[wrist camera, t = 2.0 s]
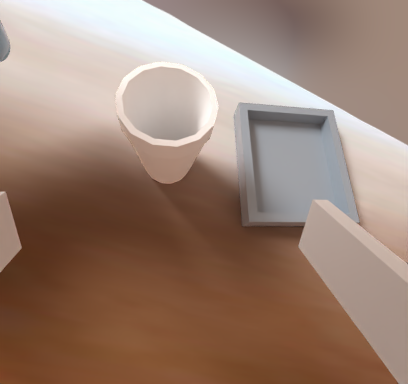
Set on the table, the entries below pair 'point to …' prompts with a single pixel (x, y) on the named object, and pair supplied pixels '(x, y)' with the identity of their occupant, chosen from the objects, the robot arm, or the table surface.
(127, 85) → the foam cup
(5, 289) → the table surface
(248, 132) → the tray
